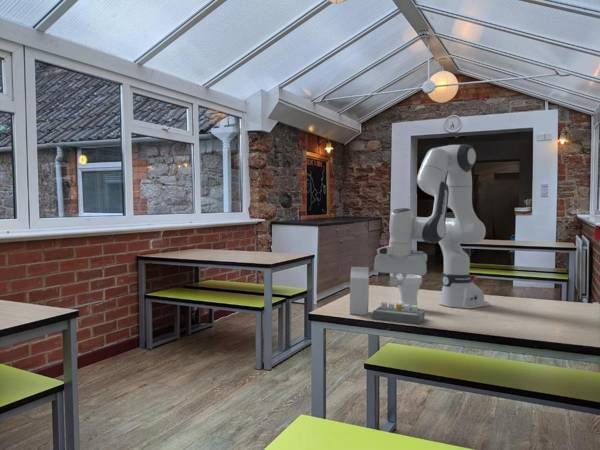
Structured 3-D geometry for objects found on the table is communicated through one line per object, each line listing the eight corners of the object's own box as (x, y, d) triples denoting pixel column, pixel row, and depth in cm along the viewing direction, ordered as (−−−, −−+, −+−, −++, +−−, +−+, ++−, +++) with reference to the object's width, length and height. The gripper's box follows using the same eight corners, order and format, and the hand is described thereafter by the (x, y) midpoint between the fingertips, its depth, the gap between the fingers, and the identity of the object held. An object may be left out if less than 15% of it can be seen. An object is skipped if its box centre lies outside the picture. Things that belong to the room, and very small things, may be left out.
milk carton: (367, 315, 197) (368, 268, 196) (349, 314, 198) (350, 267, 198) (368, 311, 204) (369, 266, 203) (351, 310, 205) (352, 265, 205)
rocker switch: (396, 310, 192) (396, 304, 191) (397, 309, 193) (396, 303, 192) (401, 310, 191) (401, 305, 190) (402, 309, 192) (401, 304, 191)
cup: (422, 312, 204) (423, 278, 203) (395, 310, 206) (395, 277, 205) (420, 306, 215) (421, 274, 214) (394, 305, 217) (395, 273, 216)
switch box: (372, 318, 191) (373, 303, 191) (380, 313, 200) (380, 299, 200) (419, 324, 184) (419, 308, 183) (424, 318, 193) (424, 303, 192)
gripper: (428, 250, 189) (428, 286, 190) (377, 248, 198) (377, 281, 199) (425, 252, 183) (424, 288, 184) (373, 249, 192) (372, 284, 193)
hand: (399, 285), depth 191 cm, fingers closed
